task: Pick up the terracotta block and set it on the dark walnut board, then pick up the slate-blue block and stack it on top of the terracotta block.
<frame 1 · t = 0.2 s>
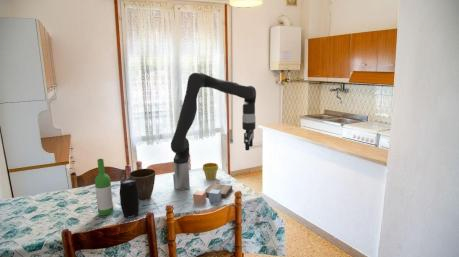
hand: (249, 148, 187), 29 cm above the table, tool pointing down, fingers open, 8 cm apart
wine bottle: (106, 213, 173), on the table
terracotta block: (199, 201, 184), on the table
portable speaker: (131, 215, 169), on the table
plant pot 2: (210, 178, 221), on the table
walnut board: (218, 192, 196), on the table
slate blue block: (215, 200, 186), on the table
plant pot: (144, 198, 190), on the table
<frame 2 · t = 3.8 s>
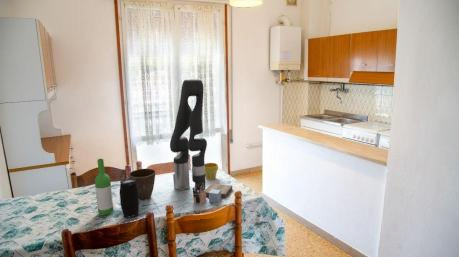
hand: (199, 200, 184), 1 cm above the table, tool pointing down, fingers closed on terracotta block, 5 cm apart
terracotta block: (199, 201, 184), on the table, touching gripper
everything else where it was.
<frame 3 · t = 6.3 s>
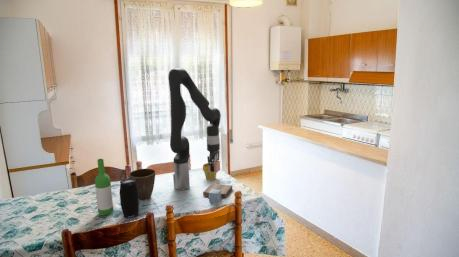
hand: (214, 169, 191), 16 cm above the table, tool pointing down, fingers closed on terracotta block, 5 cm apart
terracotta block: (214, 170, 191), point 15 cm above the table, touching gripper
everything else where it was.
when the fingers open (4 cm above the table, at t = 9.2 s): terracotta block drops 1 cm, resting on walnut board.
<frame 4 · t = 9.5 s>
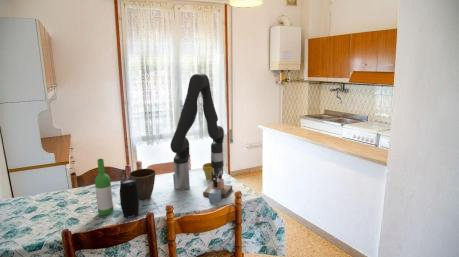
hand: (217, 184, 195), 5 cm above the table, tool pointing down, fingers open, 8 cm apart
terracotta block: (218, 188, 196), point 2 cm above the table, touching walnut board
everything else where it was.
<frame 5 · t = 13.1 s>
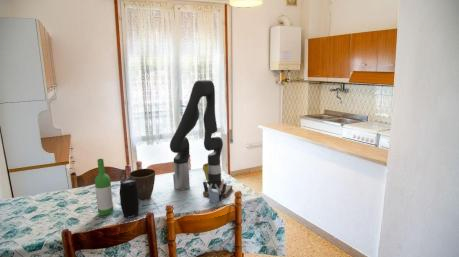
hand: (215, 199, 186), 1 cm above the table, tool pointing down, fingers closed on slate blue block, 5 cm apart
slate blue block: (215, 200, 186), on the table, touching gripper
everything else where it was.
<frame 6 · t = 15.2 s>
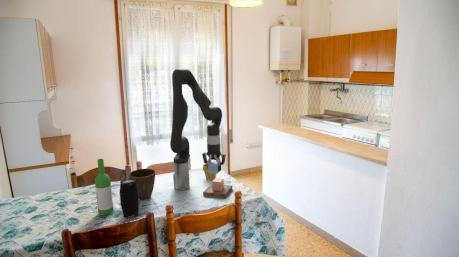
hand: (214, 170, 184), 17 cm above the table, tool pointing down, fingers closed on slate blue block, 5 cm apart
slate blue block: (214, 171, 184), point 17 cm above the table, touching gripper
everything else where it was.
when the fingers open (10 cm above the table, at t = 17.6 s): slate blue block drops 1 cm, resting on terracotta block.
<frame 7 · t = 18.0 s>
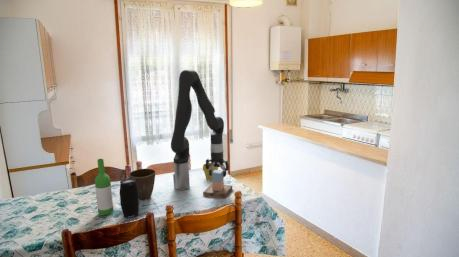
hand: (217, 176, 194), 11 cm above the table, tool pointing down, fingers open, 8 cm apart
terracotta block: (218, 188, 196), point 2 cm above the table, touching slate blue block, walnut board
slate blue block: (218, 180, 195), point 8 cm above the table, touching terracotta block
everything else where it was.
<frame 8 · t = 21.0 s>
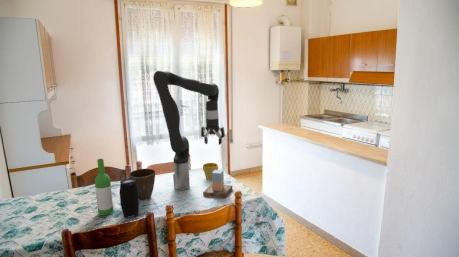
hand: (213, 144, 193), 30 cm above the table, tool pointing down, fingers open, 8 cm apart
nothing on the table moved.
at the end: terracotta block 0.0 cm off-centre on the walnut board, point 2.5 cm above the walnut board's base; slate blue block inside the target area on the walnut board (0.1 cm from its centre), point 8.0 cm above the walnut board's base; slate blue block tilted 0° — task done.
